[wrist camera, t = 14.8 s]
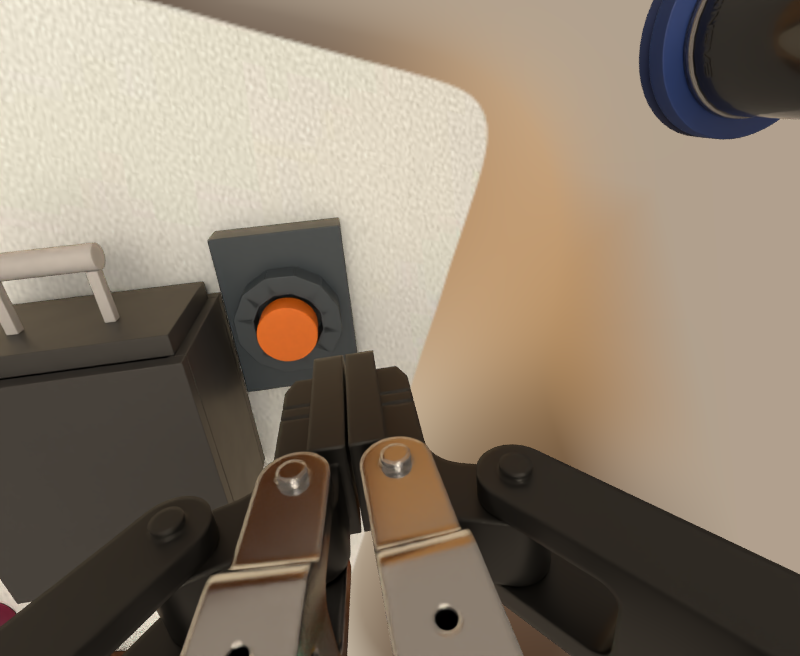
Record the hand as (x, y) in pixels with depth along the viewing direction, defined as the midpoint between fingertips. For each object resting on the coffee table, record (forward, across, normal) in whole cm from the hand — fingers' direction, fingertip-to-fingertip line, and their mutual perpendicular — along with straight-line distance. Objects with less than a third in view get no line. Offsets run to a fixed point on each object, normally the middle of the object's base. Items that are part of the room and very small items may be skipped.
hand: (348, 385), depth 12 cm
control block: (+21, +4, +6) cm, 22 cm away
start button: (+17, +4, +6) cm, 19 cm away
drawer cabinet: (+21, +16, +12) cm, 28 cm away
